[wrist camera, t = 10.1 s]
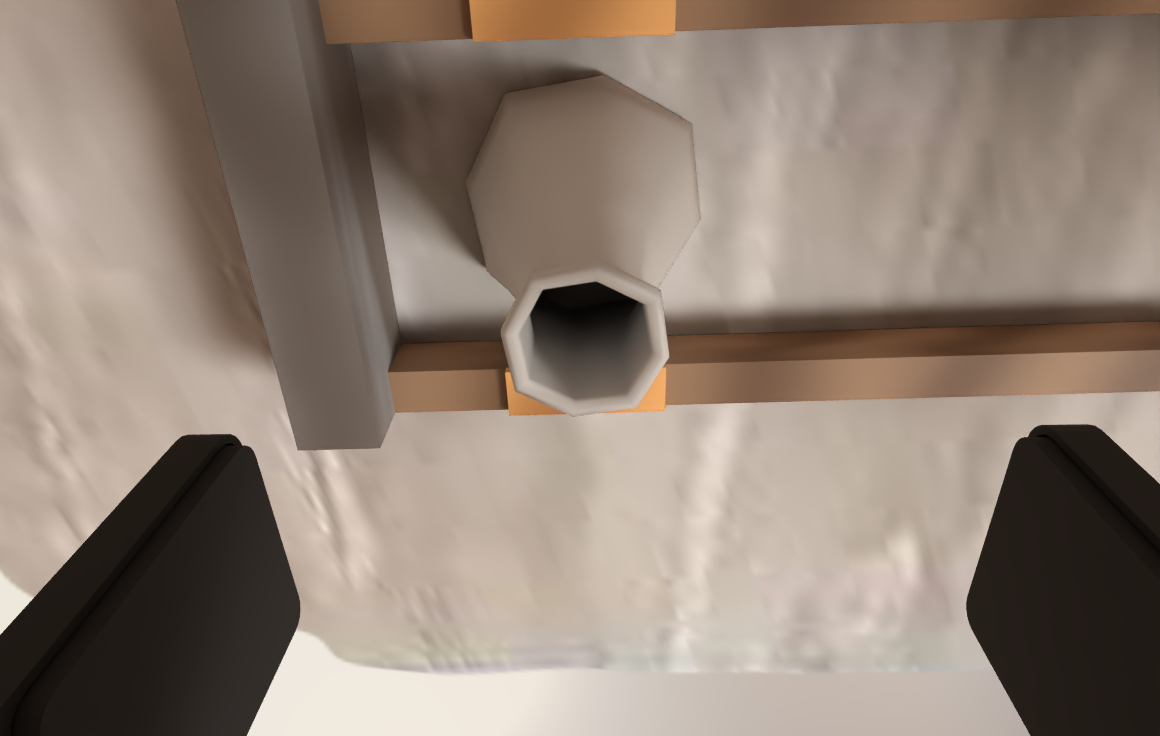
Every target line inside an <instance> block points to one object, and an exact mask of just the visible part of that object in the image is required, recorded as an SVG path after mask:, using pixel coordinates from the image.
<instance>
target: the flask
mask: <svg viewBox="0 0 1160 736" xmlns="http://www.w3.org/2000/svg"><path fill="white" fill-rule="evenodd" d="M466 187H467V191H468V195H469V199H470V203H471V207H472V211H473V215H474V219H475V223H476V227H477V231H478V235H479V239H480V243H481V247H482V251H483V255H484V260H485V264H486V268H487V271H488V272H489V273H490V275H491V276H492V277H493V278H495V279H496V280H497V281H498V282H499V283H501V284H502V285H503V286H504V287H505V288H506V289H508V290H509V292H510V293H511V294H512V295H513V296H514V297H515V298H516V300H515V302H514V304H513V306H512V308H511V310H510V312H509V314H508V316H507V318H506V320H505V322H504V324H503V326H502V327H501V338H502V342H503V346H504V350H505V354H506V358H507V362H508V366H509V370H510V374H511V378H512V382H513V386H514V390H515V392H517V393H519V394H522V395H524V396H526V397H529V398H531V399H533V400H536V401H538V402H540V403H543V404H545V405H547V406H549V407H552V408H554V409H556V410H559V411H561V412H563V413H566V414H568V415H570V416H572V417H575V416H582V415H589V414H596V413H603V412H610V411H617V410H624V409H631V408H637V406H638V404H639V403H640V401H641V400H642V398H643V397H644V395H645V394H646V392H647V391H648V389H649V388H650V386H651V384H652V383H653V381H654V380H655V378H656V377H657V375H658V374H659V372H660V371H661V369H662V368H663V366H664V364H665V363H666V361H667V360H668V358H669V350H668V342H667V334H666V326H665V319H664V311H663V303H662V295H661V290H659V289H658V288H659V286H660V285H661V283H662V281H663V280H664V278H665V276H666V275H667V273H668V271H669V270H670V268H671V267H672V265H673V263H674V262H675V260H676V258H677V257H678V255H679V253H680V252H681V250H682V248H683V247H684V245H685V244H686V242H687V240H688V239H689V237H690V235H691V234H692V232H693V230H694V229H695V227H696V225H697V224H698V222H699V221H700V219H701V217H700V207H699V196H698V185H697V174H696V164H695V153H694V142H693V131H692V123H690V122H688V121H686V120H685V119H683V118H681V117H679V116H677V115H676V114H674V113H672V112H670V111H668V110H667V109H665V108H663V107H661V106H659V105H658V104H656V103H654V102H652V101H650V100H649V99H647V98H645V97H643V96H641V95H640V94H638V93H636V92H634V91H632V90H631V89H629V88H627V87H625V86H623V85H622V84H620V83H618V82H616V81H614V80H613V79H611V78H609V77H607V76H605V75H602V76H596V77H591V78H585V79H580V80H574V81H569V82H563V83H558V84H552V85H547V86H541V87H536V88H530V89H525V90H519V91H514V92H508V93H505V94H504V96H503V98H502V101H501V103H500V105H499V107H498V110H497V112H496V114H495V117H494V119H493V121H492V123H491V126H490V128H489V130H488V133H487V135H486V137H485V139H484V142H483V144H482V146H481V149H480V151H479V153H478V155H477V158H476V160H475V162H474V165H473V167H472V169H471V171H470V174H469V176H468V178H467V181H466Z"/></svg>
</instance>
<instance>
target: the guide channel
mask: <svg viewBox="0 0 1160 736" xmlns="http://www.w3.org/2000/svg"><path fill="white" fill-rule="evenodd" d="M176 2H177V6H178V10H179V13H180V17H181V21H182V25H183V28H184V32H185V36H186V39H187V43H188V47H189V50H190V54H191V58H192V61H193V65H194V69H195V72H196V76H197V80H198V84H199V87H200V91H201V95H202V98H203V102H204V106H205V109H206V113H207V117H208V120H209V124H210V128H211V132H212V135H213V139H214V143H215V146H216V150H217V154H218V157H219V161H220V165H221V168H222V172H223V176H224V179H225V183H226V187H227V191H228V194H229V198H230V202H231V205H232V209H233V213H234V216H235V220H236V224H237V227H238V231H239V235H240V239H241V242H242V246H243V250H244V253H245V257H246V261H247V264H248V268H249V272H250V275H251V279H252V283H253V287H254V290H255V294H256V298H257V301H258V305H259V309H260V312H261V316H262V320H263V323H264V327H265V331H266V334H267V338H268V342H269V346H270V349H271V353H272V357H273V360H274V364H275V368H276V371H277V375H278V379H279V382H280V386H281V390H282V394H283V397H284V401H285V405H286V408H287V412H288V416H289V419H290V423H291V427H292V430H293V434H294V438H295V441H296V445H297V449H298V450H332V449H369V448H380V447H381V445H382V443H383V440H384V438H385V436H386V433H387V431H388V428H389V426H390V424H391V421H392V419H393V416H394V414H395V413H399V412H434V411H470V410H506V409H509V416H515V415H551V414H566V413H563V412H561V411H559V410H556V409H554V408H552V407H549V406H547V405H545V404H543V403H540V402H538V401H536V400H533V399H531V398H529V397H526V396H524V395H522V394H519V393H517V392H515V390H514V386H513V382H512V378H511V374H510V370H509V366H508V362H507V358H506V354H505V350H504V346H503V342H502V341H477V342H443V343H409V344H401V338H400V332H399V326H398V321H397V315H396V309H395V303H394V297H393V292H392V286H391V280H390V274H389V268H388V262H387V257H386V251H385V245H384V239H383V233H382V228H381V222H380V216H379V210H378V204H377V198H376V193H375V187H374V181H373V175H372V169H371V164H370V158H369V152H368V146H367V140H366V134H365V129H364V123H363V117H362V111H361V105H360V100H359V94H358V88H357V82H356V76H355V70H354V65H353V59H352V53H351V47H350V43H372V42H399V41H426V40H453V39H473V42H484V41H511V40H538V39H565V38H591V37H618V36H645V35H672V34H675V31H694V30H721V29H748V28H774V27H801V26H828V25H855V24H882V23H909V22H935V21H962V20H989V19H1016V18H1043V17H1069V16H1096V15H1123V14H1150V13H1160V0H176ZM667 342H668V350H669V358H668V360H667V361H666V363H665V364H664V366H663V368H662V369H661V371H660V372H659V374H658V375H657V377H656V378H655V380H654V381H653V383H652V384H651V386H650V388H649V389H648V391H647V392H646V394H645V395H644V397H643V398H642V400H641V401H640V403H639V404H638V406H637V408H631V409H624V410H617V411H610V412H603V413H623V412H659V411H665V405H684V404H719V403H755V402H791V401H826V400H862V399H898V398H933V397H969V396H1005V395H1040V394H1076V393H1112V392H1147V391H1160V321H1149V322H1115V323H1082V324H1048V325H1015V326H981V327H947V328H914V329H880V330H846V331H813V332H779V333H746V334H712V335H678V336H667Z"/></svg>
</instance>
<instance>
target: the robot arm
mask: <svg viewBox="0 0 1160 736" xmlns="http://www.w3.org/2000/svg"><path fill="white" fill-rule="evenodd" d="M966 610H967V617H968V621H969V624H970V626H971V629H972V631H973V633H974V634H975V636H976V638H977V640H978V642H979V643H980V645H981V647H982V649H983V651H984V653H985V654H986V656H987V658H988V660H989V662H990V663H991V665H992V667H993V669H994V671H995V672H996V674H997V676H998V678H999V680H1000V681H1001V683H1002V685H1003V687H1004V689H1005V690H1006V692H1007V694H1008V696H1009V697H1010V699H1011V701H1012V702H1013V705H1014V707H1015V708H1016V710H1017V712H1018V714H1019V716H1020V717H1021V719H1022V721H1023V723H1024V725H1025V726H1026V728H1027V730H1028V732H1029V734H1030V735H1031V736H1160V484H1159V483H1158V482H1157V481H1156V480H1155V479H1154V478H1153V477H1152V476H1151V475H1149V474H1148V473H1147V472H1146V471H1145V470H1144V469H1143V468H1142V467H1141V466H1140V465H1139V464H1138V463H1137V462H1135V461H1134V460H1133V459H1132V458H1131V457H1130V456H1129V455H1128V454H1127V453H1126V452H1125V451H1124V450H1123V449H1122V448H1120V447H1119V446H1118V445H1117V444H1116V443H1115V442H1114V441H1113V440H1112V439H1111V438H1110V437H1109V436H1108V435H1106V434H1105V433H1104V432H1103V431H1102V430H1101V429H1099V428H1098V427H1096V426H1093V425H1088V424H1086V425H1040V426H1037V427H1035V428H1034V429H1033V430H1032V431H1031V432H1030V434H1029V436H1028V437H1024V438H1021V439H1019V440H1018V441H1017V442H1016V444H1015V446H1014V449H1013V452H1012V455H1011V458H1010V461H1009V465H1008V468H1007V471H1006V474H1005V478H1004V481H1003V484H1002V487H1001V490H1000V494H999V497H998V500H997V503H996V506H995V510H994V513H993V516H992V519H991V522H990V526H989V529H988V532H987V535H986V539H985V542H984V545H983V548H982V551H981V555H980V558H979V561H978V564H977V567H976V571H975V574H974V577H973V580H972V583H971V587H970V590H969V593H968V596H967V602H966ZM299 618H300V600H299V596H298V592H297V589H296V586H295V583H294V579H293V576H292V573H291V570H290V566H289V563H288V560H287V556H286V553H285V550H284V547H283V543H282V540H281V537H280V534H279V530H278V527H277V524H276V521H275V517H274V514H273V511H272V508H271V504H270V501H269V498H268V495H267V491H266V488H265V485H264V482H263V478H262V475H261V472H260V469H259V465H258V462H257V459H256V456H255V454H254V451H253V450H252V449H251V448H250V447H248V446H242V444H241V442H240V441H239V440H238V438H237V437H236V436H233V435H231V434H211V435H185V436H182V437H181V438H179V439H178V440H177V441H176V442H175V443H174V444H173V445H172V446H171V447H170V448H169V449H168V451H167V452H166V453H165V454H164V455H163V456H162V457H161V458H160V459H159V460H158V462H157V463H156V464H155V465H154V466H153V467H152V468H151V469H150V470H149V472H148V473H147V474H146V475H145V476H144V477H143V478H142V479H141V480H140V481H139V483H138V484H137V485H136V486H135V487H134V488H133V489H132V490H131V491H130V492H129V494H128V495H127V496H126V497H125V498H124V499H123V500H122V501H121V502H120V504H119V505H118V506H117V507H116V508H115V509H114V510H113V511H112V512H111V513H110V515H109V516H108V517H107V518H106V519H105V520H104V521H103V522H102V523H101V524H100V526H99V527H98V528H97V529H96V530H95V531H94V532H93V533H92V534H91V535H90V537H89V538H88V539H87V540H86V541H85V542H84V543H83V544H82V545H81V547H80V548H79V549H78V550H77V551H76V552H75V553H74V554H73V555H72V556H71V558H70V559H69V560H68V561H67V562H66V563H65V564H64V565H63V566H62V567H61V569H60V570H59V571H58V572H57V573H56V574H55V575H54V576H53V577H52V579H51V580H50V581H49V582H48V583H47V584H46V585H45V586H44V587H43V588H42V590H41V591H40V592H39V593H38V594H37V595H36V596H35V597H34V598H33V599H32V601H31V602H30V603H29V604H28V605H27V606H26V607H25V609H23V610H22V612H21V613H20V614H19V615H18V616H17V617H16V618H15V619H14V620H13V622H12V623H11V624H10V625H9V626H8V627H7V628H6V629H5V630H4V631H3V633H2V634H1V635H0V736H247V734H248V732H249V729H250V727H251V725H252V723H253V721H254V719H255V717H256V714H257V712H258V710H259V708H260V706H261V704H262V702H263V699H264V697H265V695H266V693H267V691H268V689H269V686H270V684H271V682H272V680H273V678H274V676H275V674H276V672H277V669H278V667H279V665H280V663H281V661H282V659H283V656H284V655H285V652H286V650H287V648H288V646H289V644H290V642H291V640H292V637H293V635H294V633H295V631H296V628H297V626H298V622H299Z"/></svg>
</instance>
